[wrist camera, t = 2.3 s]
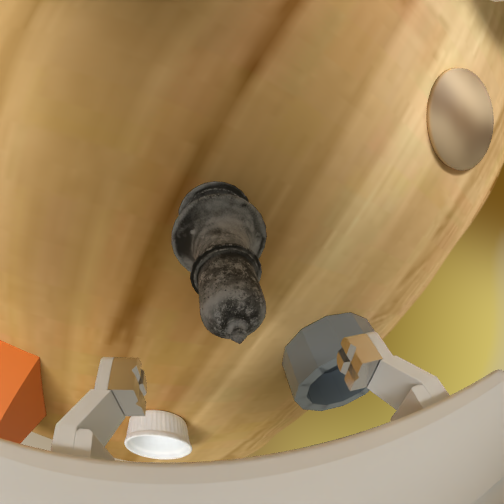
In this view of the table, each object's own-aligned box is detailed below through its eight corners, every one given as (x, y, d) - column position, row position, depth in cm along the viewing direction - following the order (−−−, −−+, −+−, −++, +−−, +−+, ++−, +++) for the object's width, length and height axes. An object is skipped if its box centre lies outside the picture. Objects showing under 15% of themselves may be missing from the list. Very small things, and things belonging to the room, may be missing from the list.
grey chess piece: (269, 227, 22) (331, 346, 12) (203, 265, 23) (218, 399, 13) (229, 161, 19) (274, 249, 9) (157, 207, 20) (129, 330, 10)
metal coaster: (431, 53, 17) (435, 53, 16) (493, 86, 19) (497, 87, 18) (419, 161, 22) (423, 163, 21) (480, 173, 24) (484, 175, 23)
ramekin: (133, 433, 35) (132, 458, 32) (119, 404, 31) (116, 433, 27) (191, 434, 37) (194, 459, 34) (187, 406, 33) (189, 435, 29)
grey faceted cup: (289, 320, 28) (305, 359, 24) (380, 307, 30) (403, 338, 25) (278, 383, 33) (289, 417, 29) (355, 368, 35) (370, 397, 31)
